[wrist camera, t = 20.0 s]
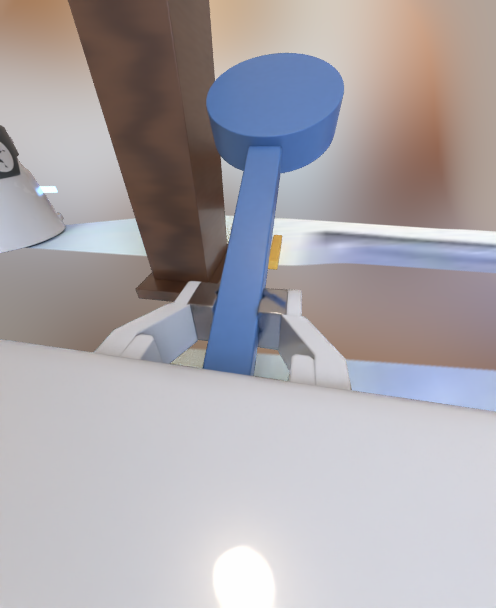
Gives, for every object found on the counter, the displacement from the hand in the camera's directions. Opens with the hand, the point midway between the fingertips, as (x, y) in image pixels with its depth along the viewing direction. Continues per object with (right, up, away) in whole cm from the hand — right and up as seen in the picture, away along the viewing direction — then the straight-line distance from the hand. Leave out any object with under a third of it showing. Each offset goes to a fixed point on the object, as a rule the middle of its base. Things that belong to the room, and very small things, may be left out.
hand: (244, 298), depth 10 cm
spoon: (+1, +4, +2) cm, 5 cm away
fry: (+4, +6, +22) cm, 23 cm away
